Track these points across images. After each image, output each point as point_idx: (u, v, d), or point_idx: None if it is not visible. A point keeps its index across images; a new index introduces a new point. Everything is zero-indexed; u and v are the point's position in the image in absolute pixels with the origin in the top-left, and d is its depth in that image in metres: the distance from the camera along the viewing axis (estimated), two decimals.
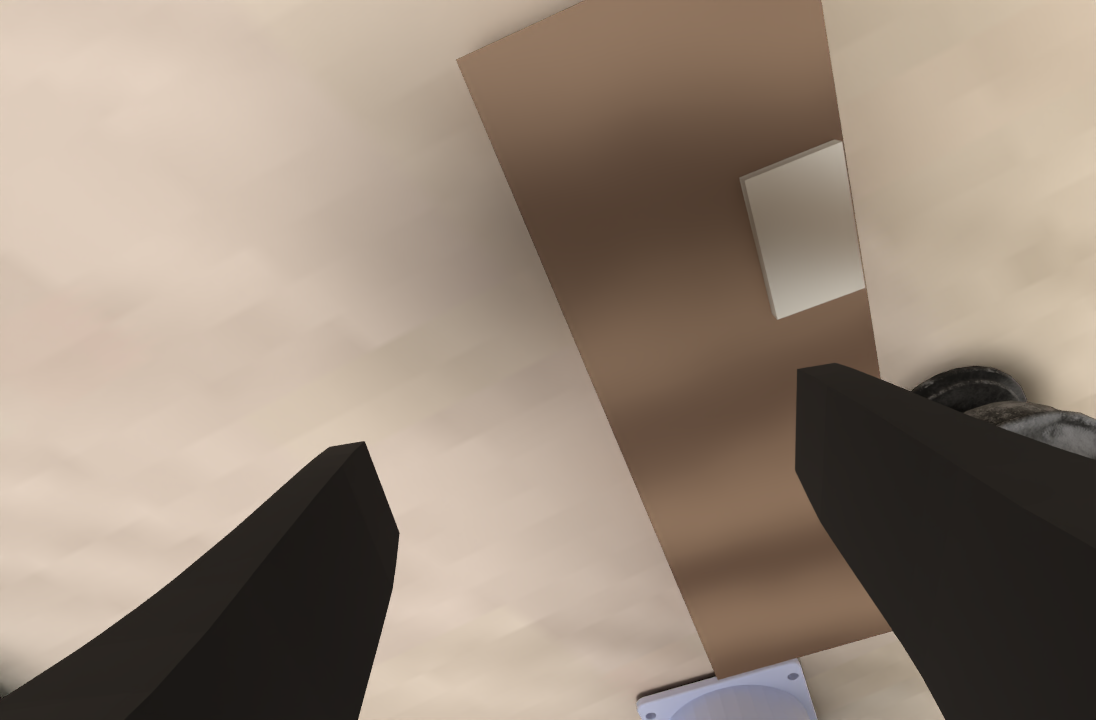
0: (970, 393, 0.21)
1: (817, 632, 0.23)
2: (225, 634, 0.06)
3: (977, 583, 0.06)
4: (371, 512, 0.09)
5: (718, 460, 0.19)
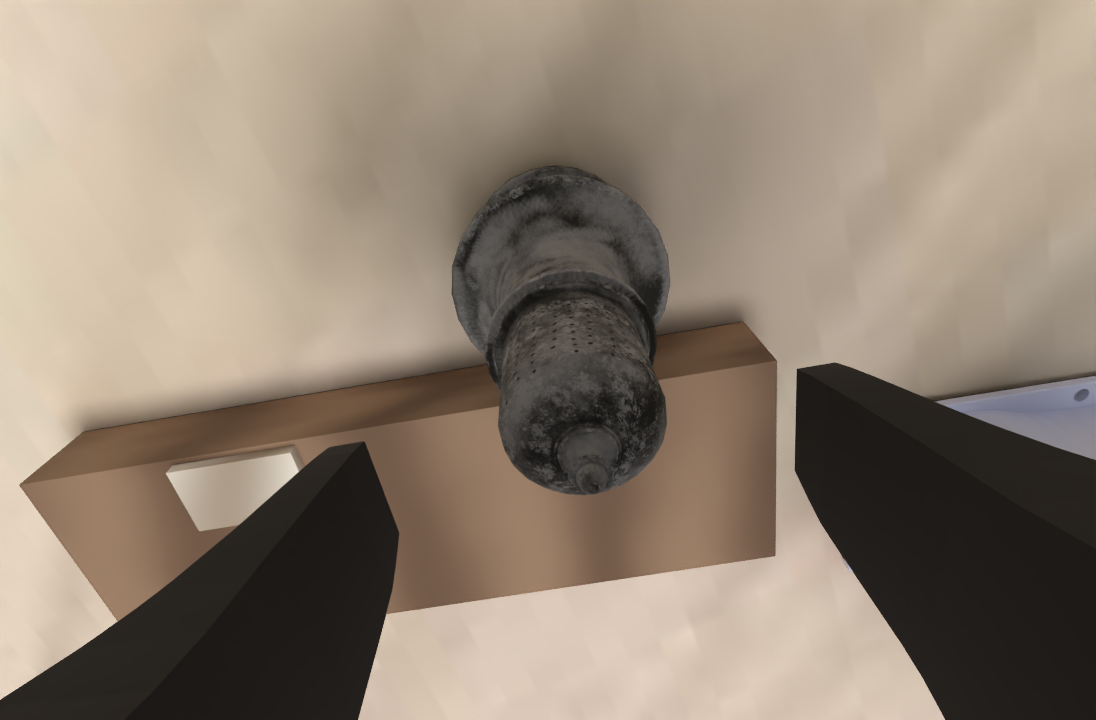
0: None
1: (741, 466, 0.19)
2: (225, 634, 0.06)
3: (977, 583, 0.06)
4: (371, 512, 0.09)
5: (468, 544, 0.20)
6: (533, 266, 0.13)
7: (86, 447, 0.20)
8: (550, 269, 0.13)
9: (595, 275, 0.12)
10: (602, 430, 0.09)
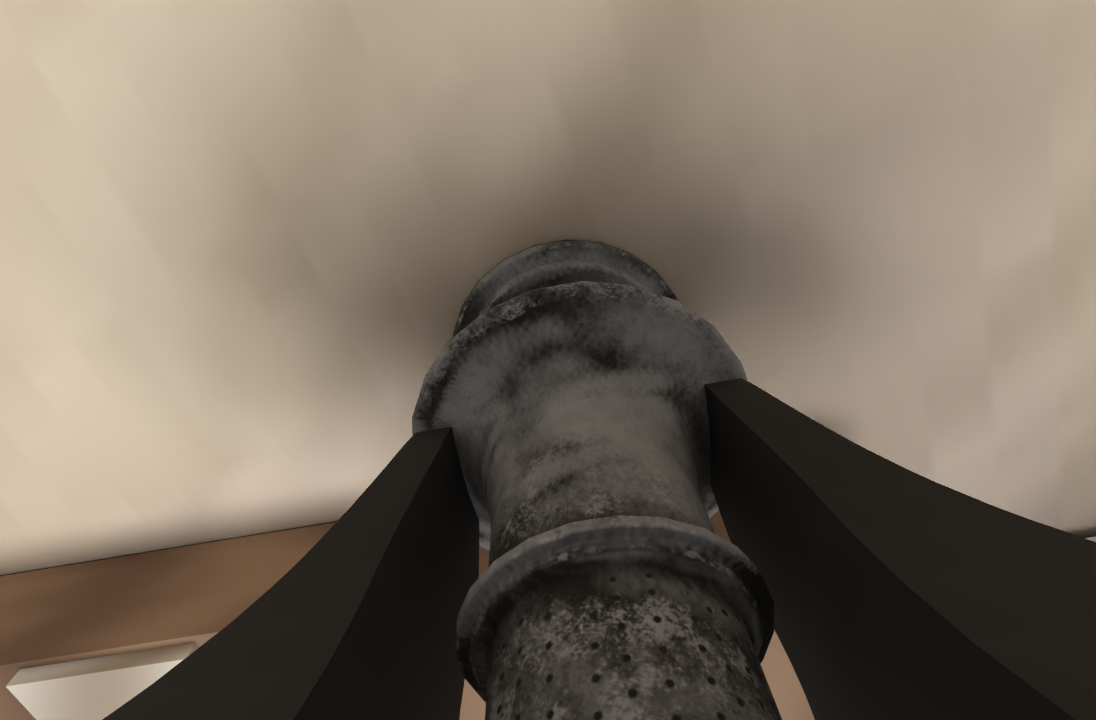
0: None
1: None
2: (371, 612, 0.06)
3: (831, 604, 0.06)
4: (460, 498, 0.09)
5: None
6: (542, 455, 0.08)
7: None
8: (574, 481, 0.07)
9: (668, 534, 0.06)
10: None
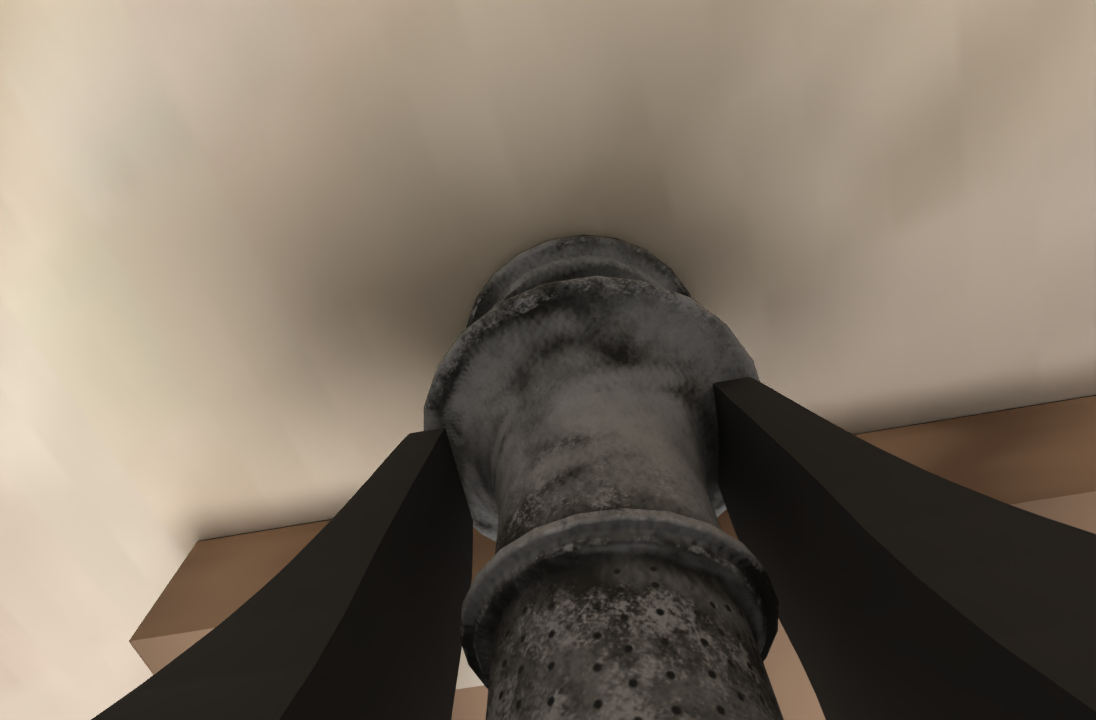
0: None
1: None
2: (359, 614, 0.06)
3: (843, 603, 0.06)
4: (453, 499, 0.09)
5: None
6: (551, 448, 0.08)
7: (211, 571, 0.14)
8: (582, 475, 0.07)
9: (673, 528, 0.06)
10: None
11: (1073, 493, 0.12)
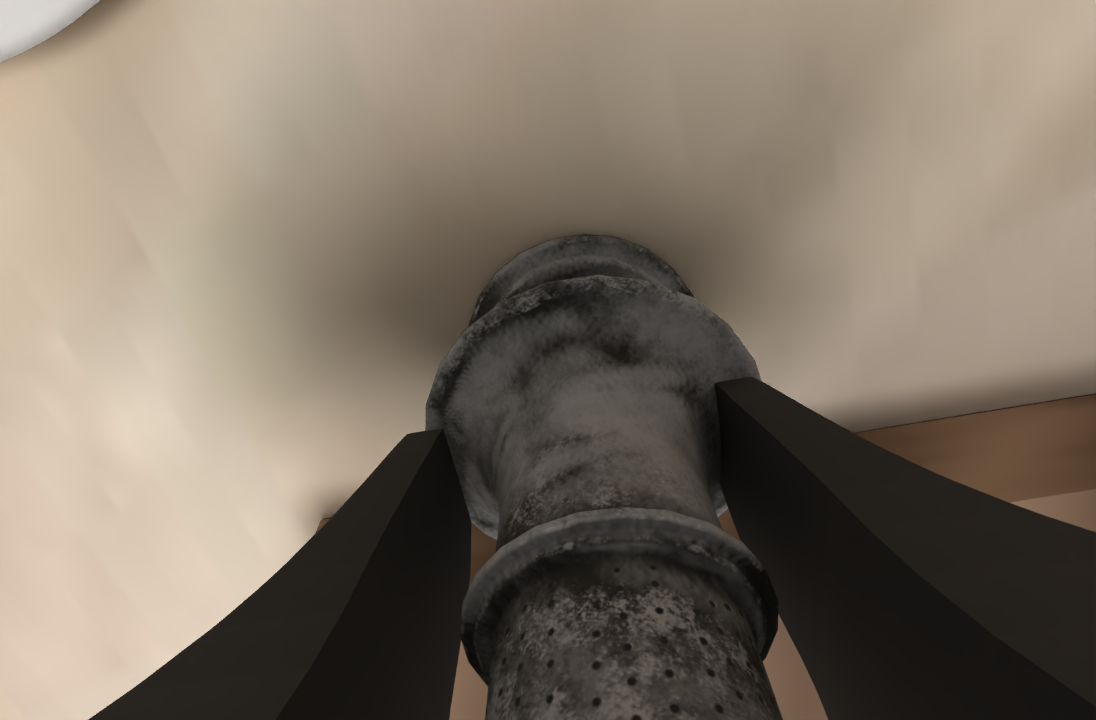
0: None
1: None
2: (356, 614, 0.06)
3: (846, 602, 0.06)
4: (452, 499, 0.09)
5: None
6: (551, 447, 0.08)
7: None
8: (583, 473, 0.07)
9: (673, 527, 0.06)
10: None
11: None
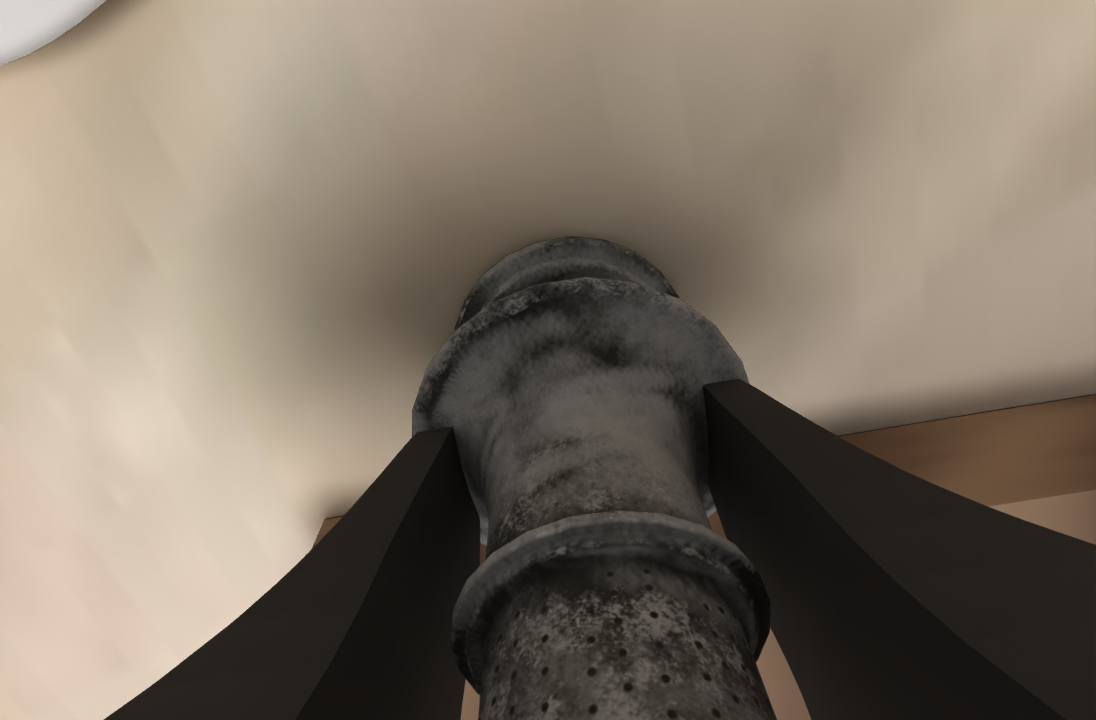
0: None
1: None
2: (372, 611, 0.06)
3: (827, 605, 0.06)
4: (461, 497, 0.09)
5: None
6: (541, 450, 0.08)
7: None
8: (574, 477, 0.07)
9: (666, 530, 0.06)
10: None
11: None
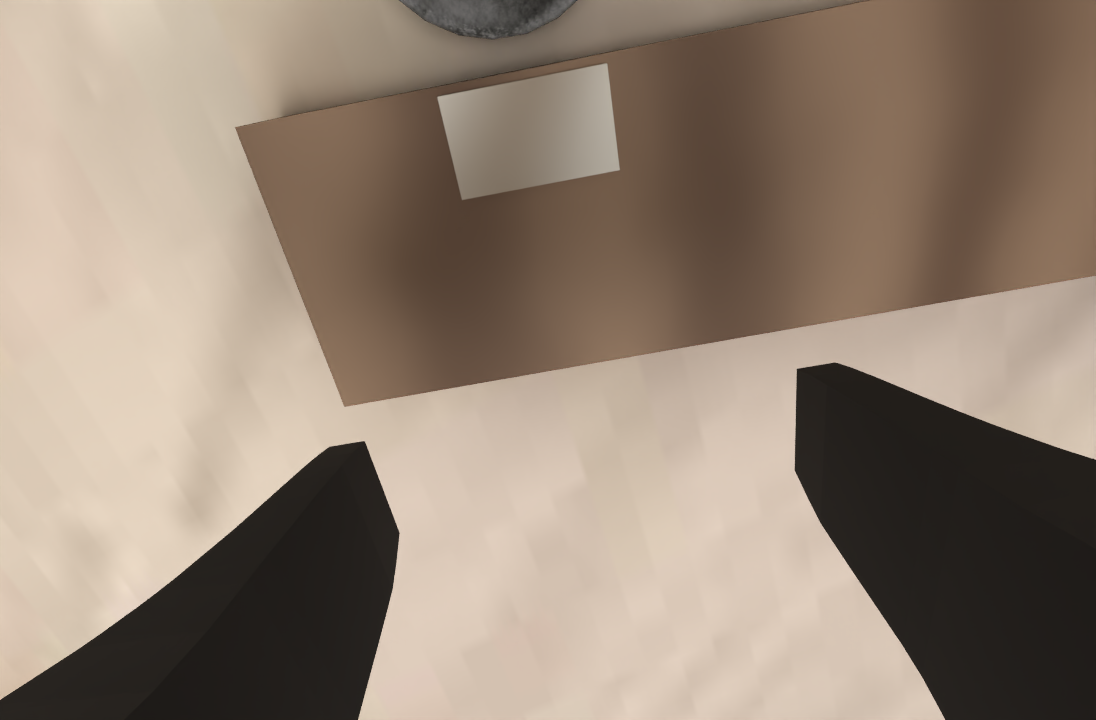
0: None
1: None
2: (225, 634, 0.06)
3: (977, 583, 0.06)
4: (371, 512, 0.09)
5: (788, 238, 0.16)
6: None
7: None
8: None
9: None
10: None
11: None
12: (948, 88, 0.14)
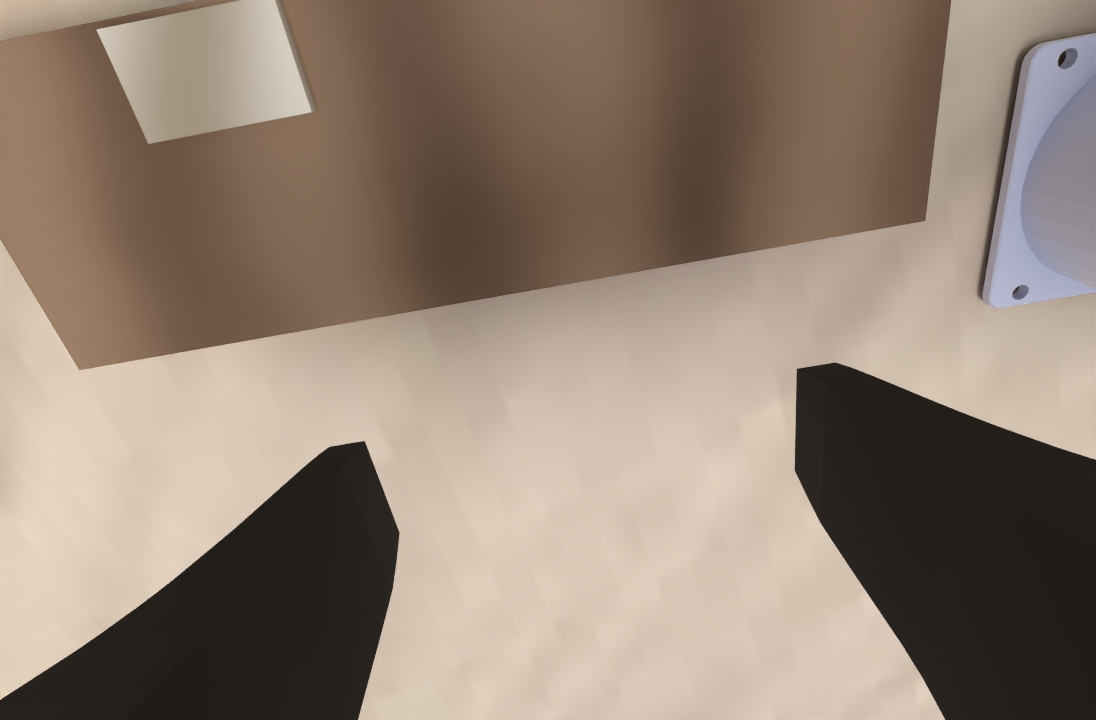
0: None
1: (897, 52, 0.14)
2: (225, 634, 0.06)
3: (977, 583, 0.06)
4: (371, 512, 0.09)
5: (516, 190, 0.15)
6: None
7: None
8: None
9: None
10: None
11: None
12: (656, 26, 0.14)
